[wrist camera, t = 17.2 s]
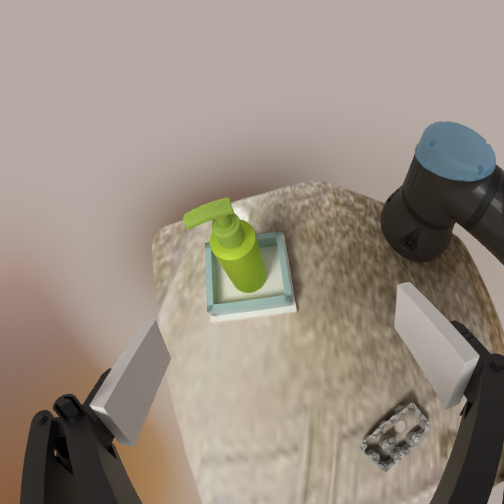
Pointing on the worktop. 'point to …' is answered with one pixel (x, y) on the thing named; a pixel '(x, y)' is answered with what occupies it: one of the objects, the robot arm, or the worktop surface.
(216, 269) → the cradle
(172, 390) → the worktop surface
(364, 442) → the egg carton
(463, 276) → the worktop surface
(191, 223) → the soap dispenser
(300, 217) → the worktop surface
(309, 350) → the worktop surface
